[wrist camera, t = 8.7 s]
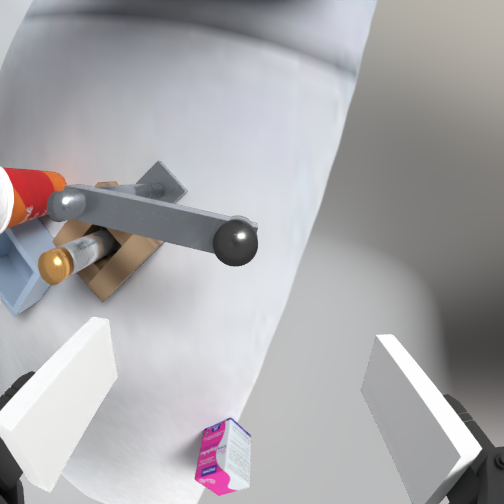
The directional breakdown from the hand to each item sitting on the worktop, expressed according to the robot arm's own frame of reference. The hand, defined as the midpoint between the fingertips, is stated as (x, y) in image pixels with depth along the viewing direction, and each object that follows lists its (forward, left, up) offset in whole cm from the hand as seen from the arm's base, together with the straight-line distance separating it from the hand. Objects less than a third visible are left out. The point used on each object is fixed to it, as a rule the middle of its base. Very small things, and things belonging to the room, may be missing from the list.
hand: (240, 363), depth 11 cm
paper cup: (+16, -23, -27) cm, 39 cm away
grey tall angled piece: (+1, -7, -25) cm, 26 cm away
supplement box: (+24, +22, -27) cm, 42 cm away
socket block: (+13, -11, -27) cm, 32 cm away
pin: (+13, -11, -27) cm, 32 cm away
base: (+4, -11, -27) cm, 29 cm away
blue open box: (+26, -19, -27) cm, 42 cm away
